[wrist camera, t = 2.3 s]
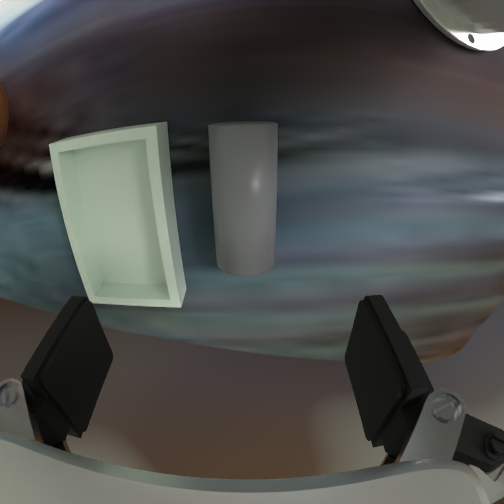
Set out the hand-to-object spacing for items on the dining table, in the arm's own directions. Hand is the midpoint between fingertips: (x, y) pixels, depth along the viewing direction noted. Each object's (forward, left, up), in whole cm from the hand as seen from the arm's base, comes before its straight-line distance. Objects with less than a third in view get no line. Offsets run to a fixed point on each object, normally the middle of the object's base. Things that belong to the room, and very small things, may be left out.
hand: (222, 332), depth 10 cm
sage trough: (+2, -10, -14) cm, 17 cm away
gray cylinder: (0, 0, -15) cm, 15 cm away
